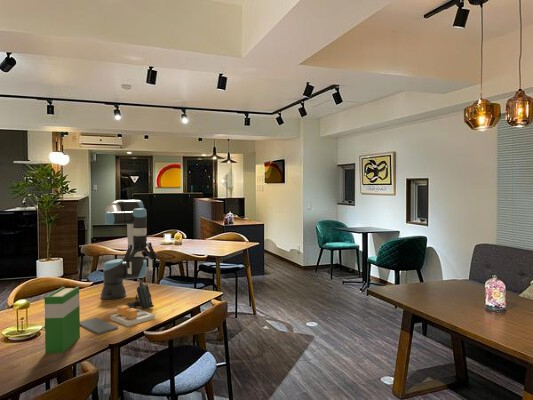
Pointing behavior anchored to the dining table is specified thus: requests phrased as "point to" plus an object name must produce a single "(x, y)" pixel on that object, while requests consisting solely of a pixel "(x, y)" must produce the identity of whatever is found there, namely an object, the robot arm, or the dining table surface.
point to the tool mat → (97, 325)
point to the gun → (142, 297)
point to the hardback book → (62, 319)
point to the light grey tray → (140, 318)
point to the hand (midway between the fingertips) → (140, 271)
